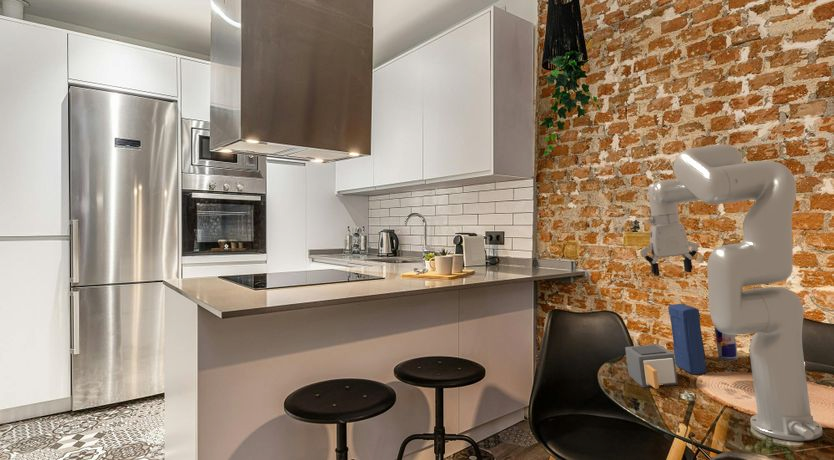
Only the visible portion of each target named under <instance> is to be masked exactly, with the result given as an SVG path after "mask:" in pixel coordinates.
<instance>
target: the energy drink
mask: <svg viewBox="0 0 834 460" xmlns="http://www.w3.org/2000/svg"><path fill="white" fill-rule="evenodd" d="M713 326H714V325H713ZM714 332H715V333H714V334H715V342H716V349H717V356H718V358H719V360H722V361H726V362H727V361H728V362H733V361H736V360H738V358H739V357H738V356H739V355H738V349H737V347H738V346H737V339H736V335H728V334H724V333H722V332H720V331H719V330H717V329H716V327H715V326H714Z"/></svg>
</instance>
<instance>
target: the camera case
mask: <svg viewBox="0 0 834 460" xmlns="http://www.w3.org/2000/svg"><path fill="white" fill-rule="evenodd" d="M624 348H625V355H626V363H627V364H626V365H627V370H628V375H629V377H630V378H631V379H633V380H634V381H635V382H636V383H637V384H638V385H639V386H640V387H642V388H650V387H649V386H650V385H647V384H646V378H645V370H644V363H643V361H645V360H656V359H667V358H672V359H673V365H674V373H675V381H676V383H666V384H663V385H664V386H672V385H673V386H675V385H679V382H678V374H677V368H676V367H677V366H676V364H675V356H674V352H671V351H670V350H668V349H666V348H665V347H663V346H661V345H660V344H658V343H655V344H646V345H645V344H644V345H636V346H635V345H633V346H625V347H624Z"/></svg>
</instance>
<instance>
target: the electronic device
mask: <svg viewBox="0 0 834 460" xmlns="http://www.w3.org/2000/svg"><path fill="white" fill-rule="evenodd" d="M682 304H683V303H675V304H669V306H668V307H667V309H668V315H670V316H669V319H671V320H670V325H671V327H670V328H671V333H672V340H673V341H672V342H674V343H673V345H672V346H673V354H674V358H675V366H676V367H678V368H680V369H682V370H684V371H686V372H688V373H690V374H692V375H701V374H703V375H704V374H706V372H707V367H706V360H705V358H704V351H705V349H704V350H703V346H704V342H703V343H702V340H703V334H702V335H701V333H702V328H701V327H702V326H701V319H700V320H699V314H700V311H699V312H698V310H699V308H696V307H694V308H692V307H693V306H691V307H689V306H690V305H688V306H685V305H686V304H685V305H682Z"/></svg>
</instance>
